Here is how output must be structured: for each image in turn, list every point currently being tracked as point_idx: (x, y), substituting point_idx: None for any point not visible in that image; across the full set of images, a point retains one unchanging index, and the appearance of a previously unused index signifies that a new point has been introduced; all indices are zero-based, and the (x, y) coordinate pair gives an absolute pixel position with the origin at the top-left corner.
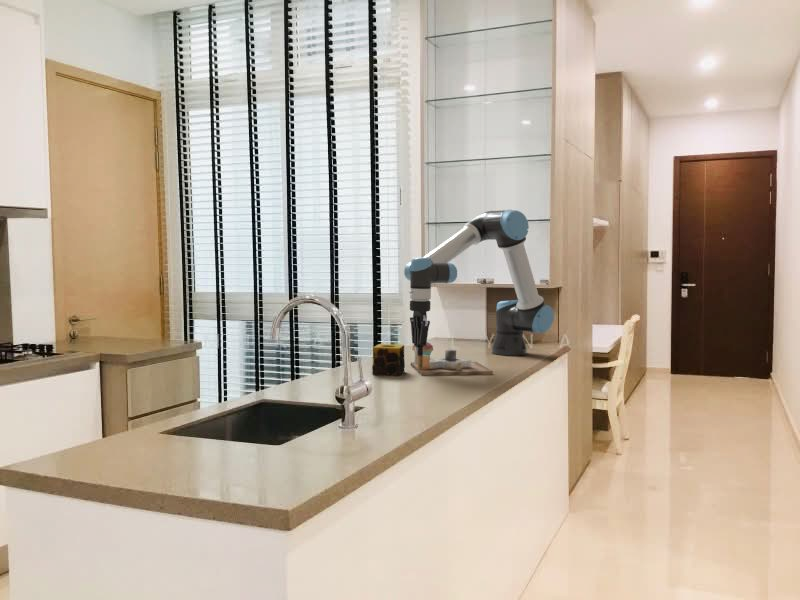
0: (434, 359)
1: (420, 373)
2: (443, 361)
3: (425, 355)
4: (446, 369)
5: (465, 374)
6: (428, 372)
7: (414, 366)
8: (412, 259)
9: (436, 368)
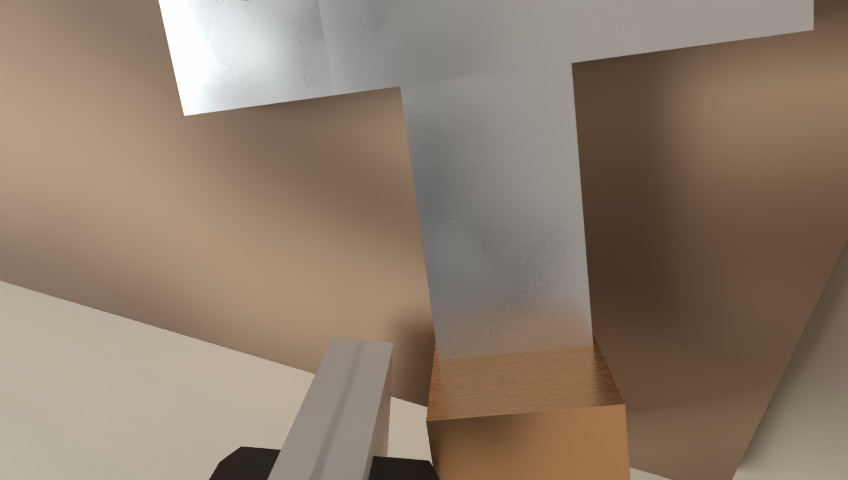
0: (323, 86)
1: None
2: (635, 40)
3: (523, 450)
4: None
5: None
6: (762, 413)
7: (174, 326)
8: None
9: None
